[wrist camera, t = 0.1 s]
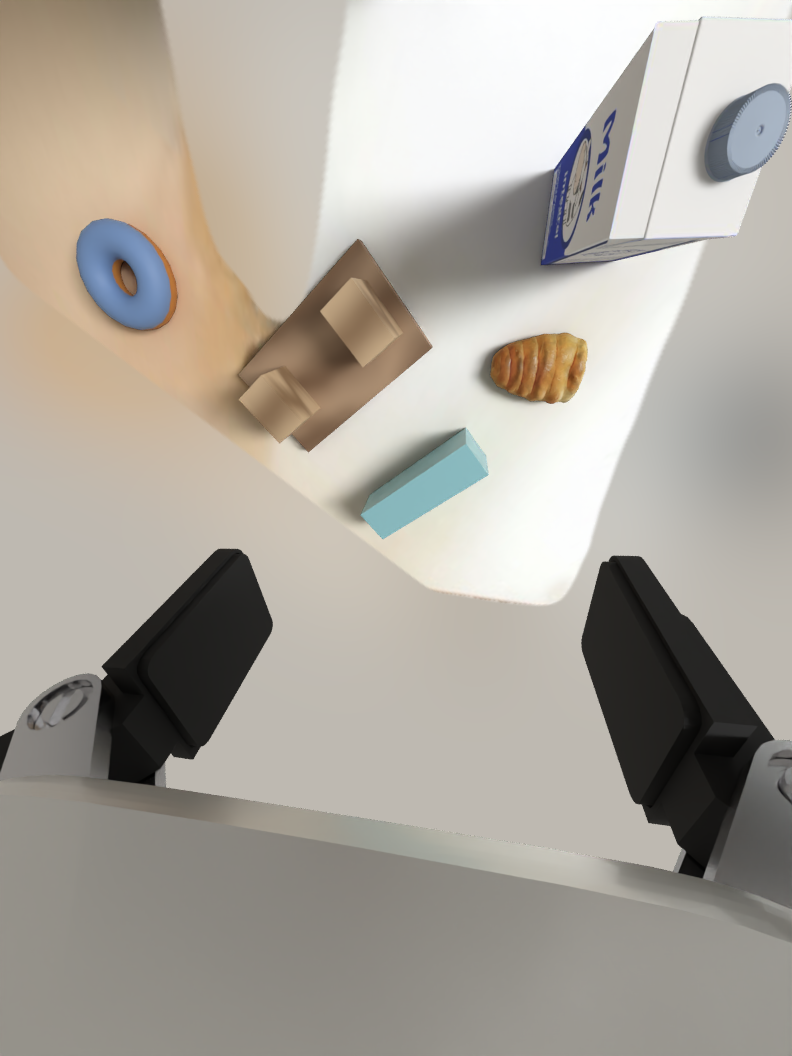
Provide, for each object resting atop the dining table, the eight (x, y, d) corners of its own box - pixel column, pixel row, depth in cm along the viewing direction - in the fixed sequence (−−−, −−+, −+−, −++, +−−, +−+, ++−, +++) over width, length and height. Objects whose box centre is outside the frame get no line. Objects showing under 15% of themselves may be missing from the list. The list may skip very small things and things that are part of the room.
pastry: (485, 396, 42) (487, 403, 39) (495, 329, 38) (498, 332, 35) (570, 400, 41) (579, 409, 38) (588, 333, 37) (600, 335, 34)
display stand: (244, 372, 45) (208, 385, 38) (361, 240, 36) (339, 229, 30) (312, 448, 49) (290, 470, 43) (432, 346, 40) (426, 356, 34)
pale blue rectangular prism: (370, 493, 51) (360, 515, 46) (465, 427, 44) (466, 443, 39) (390, 516, 53) (382, 539, 48) (485, 455, 46) (488, 474, 41)
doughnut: (108, 192, 37) (69, 188, 33) (198, 272, 40) (170, 275, 36) (92, 280, 43) (57, 284, 39) (171, 344, 46) (146, 353, 42)
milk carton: (554, 165, 31) (659, 14, 14) (640, 157, 30) (860, -17, 13) (540, 267, 35) (609, 241, 18) (615, 263, 34) (763, 230, 17)
